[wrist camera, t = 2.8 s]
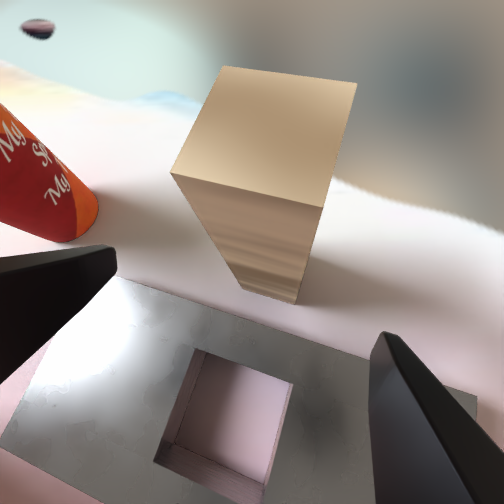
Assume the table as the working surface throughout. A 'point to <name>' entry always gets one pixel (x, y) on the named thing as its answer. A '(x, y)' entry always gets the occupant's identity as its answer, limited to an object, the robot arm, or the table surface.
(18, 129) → the paper cup
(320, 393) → the socket plate
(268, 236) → the maple peg
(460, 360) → the table surface
